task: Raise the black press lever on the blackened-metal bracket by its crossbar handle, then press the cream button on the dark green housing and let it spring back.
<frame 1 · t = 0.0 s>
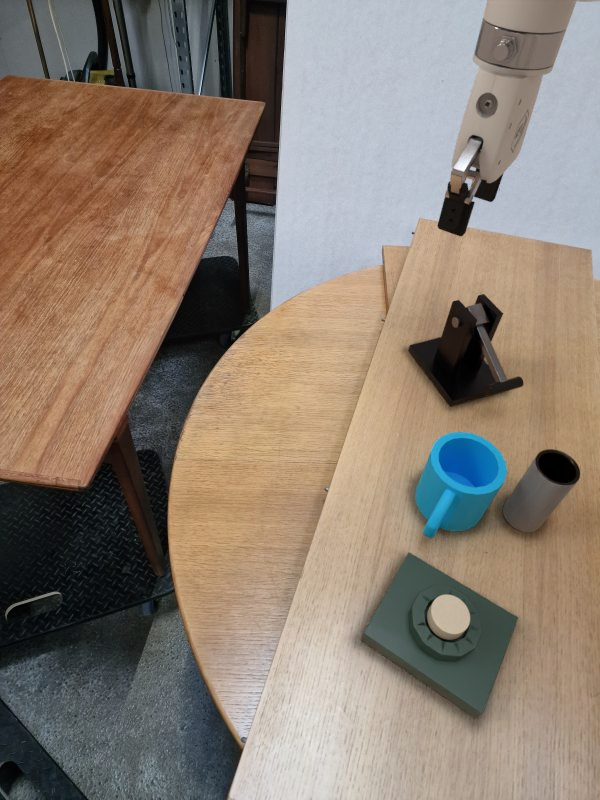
hand: (466, 214, 62), 23 cm above the table, tool pointing down, fingers open, 9 cm apart
lever bracket: (454, 370, 77), on the table
press lever: (487, 349, 68), point 8 cm above the table, hinge at -25.0°
button housing: (436, 632, 52), on the table
mug: (441, 512, 61), on the table
stop button: (448, 616, 48), point 5 cm above the table, slide at 0.2 cm
grey hollow cylinder: (521, 516, 61), on the table
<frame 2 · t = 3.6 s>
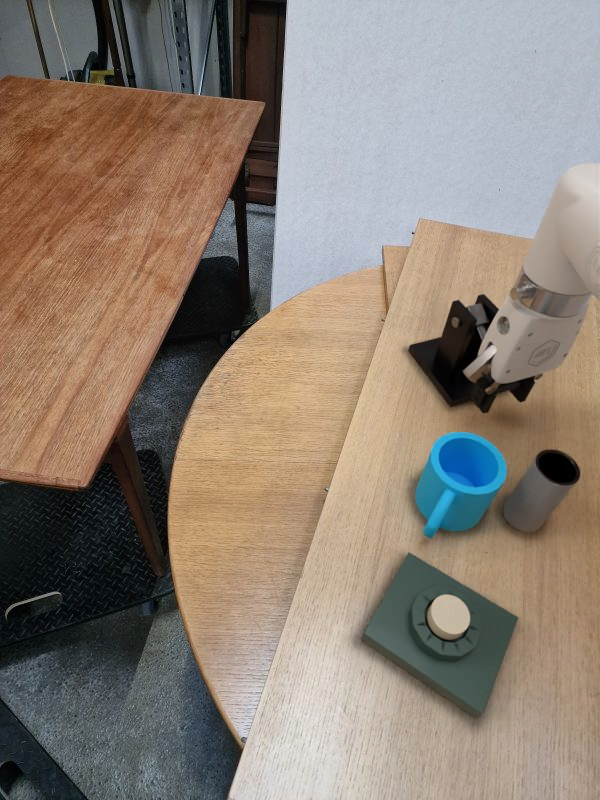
hand: (497, 399, 69), 3 cm above the table, tool pointing down, fingers closed on press lever, 5 cm apart
press lever: (487, 349, 68), point 8 cm above the table, hinge at -25.0°, touching gripper
everything else where it was.
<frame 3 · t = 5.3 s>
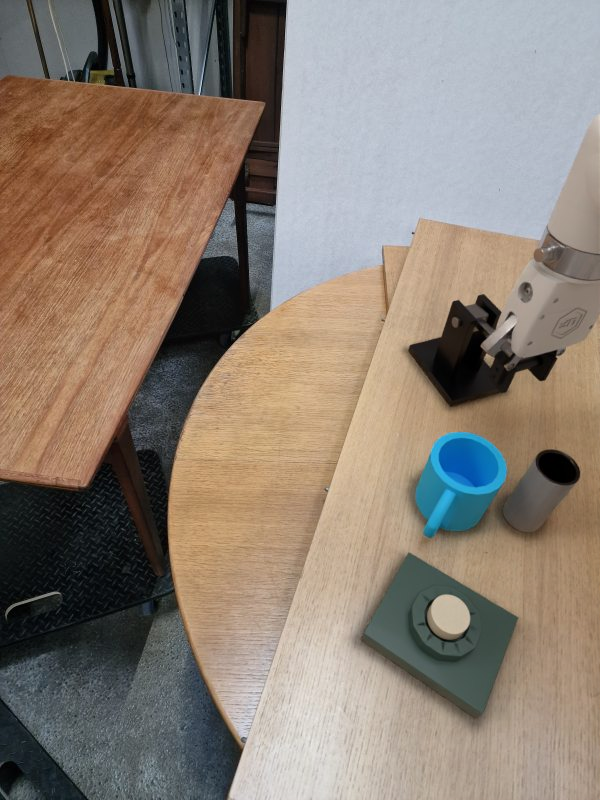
hand: (516, 378, 64), 8 cm above the table, tool pointing down, fingers closed on press lever, 5 cm apart
press lever: (495, 338, 66), point 10 cm above the table, hinge at 3.5°, touching gripper
everything else where it was.
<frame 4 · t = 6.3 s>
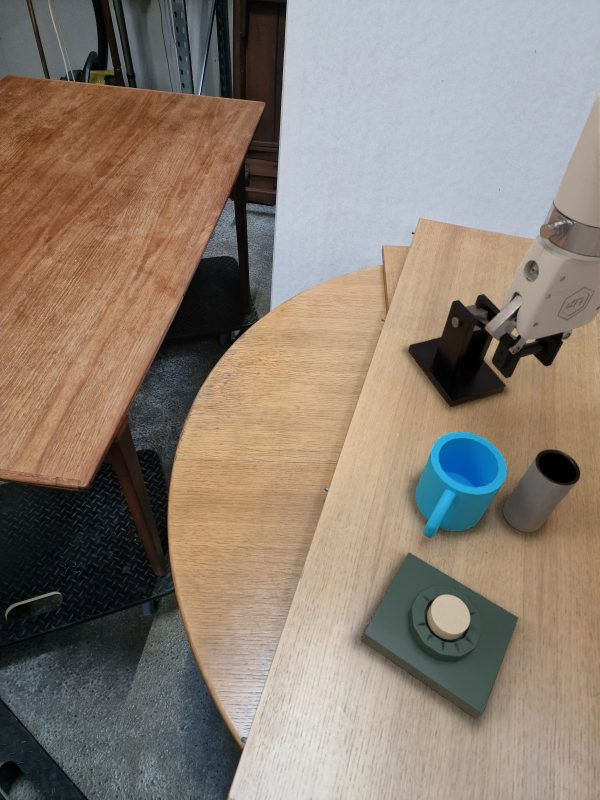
hand: (521, 363, 63), 11 cm above the table, tool pointing down, fingers closed on press lever, 5 cm apart
press lever: (496, 331, 65), point 11 cm above the table, hinge at 15.8°, touching gripper
everything else where it was.
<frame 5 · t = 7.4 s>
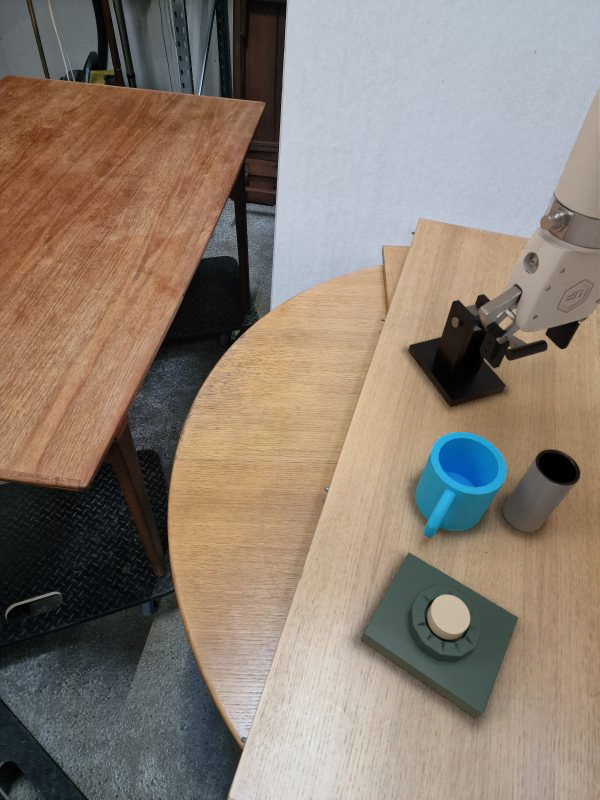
hand: (522, 350, 62), 12 cm above the table, tool pointing down, fingers open, 9 cm apart
press lever: (496, 331, 65), point 11 cm above the table, hinge at 15.5°
everything else where it was.
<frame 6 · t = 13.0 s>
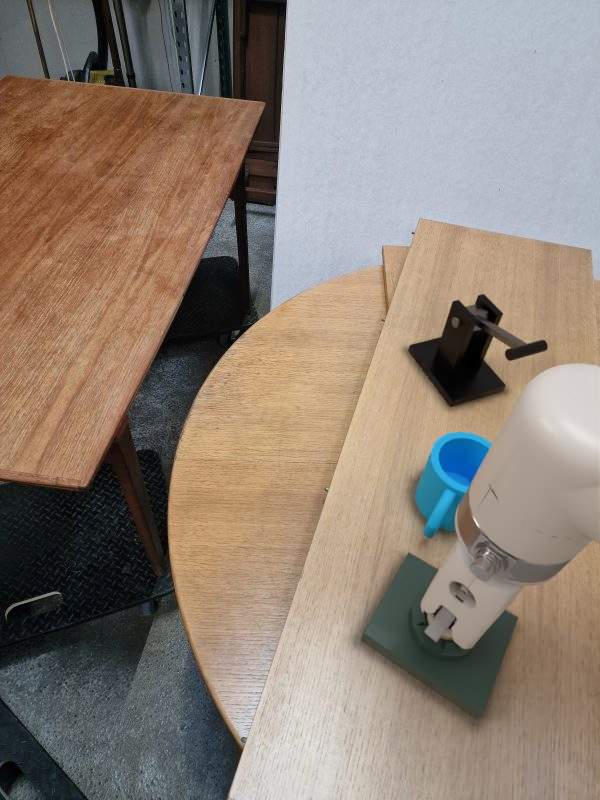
hand: (446, 615, 48), 5 cm above the table, tool pointing down, fingers closed
stop button: (446, 619, 49), point 4 cm above the table, slide at -0.6 cm, touching gripper
everything else where it was.
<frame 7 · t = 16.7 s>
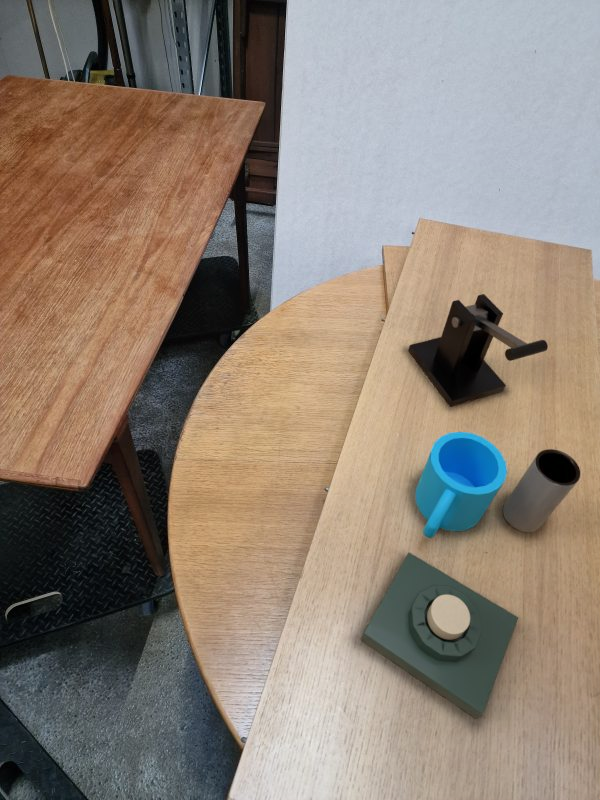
stop button: (448, 616, 48), point 5 cm above the table, slide at 0.2 cm
everything else where it was.
at the end: press lever at +16° (first picture: -25°); stop button pushed in 1.1 cm at the most during the clip, back to 0.2 cm at the end; stop button slide at 0.2 cm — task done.
